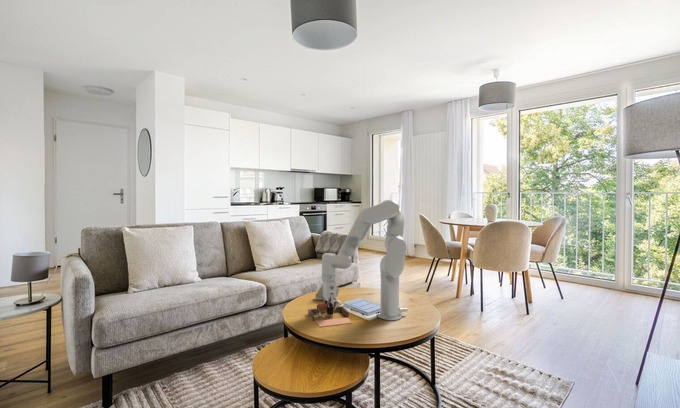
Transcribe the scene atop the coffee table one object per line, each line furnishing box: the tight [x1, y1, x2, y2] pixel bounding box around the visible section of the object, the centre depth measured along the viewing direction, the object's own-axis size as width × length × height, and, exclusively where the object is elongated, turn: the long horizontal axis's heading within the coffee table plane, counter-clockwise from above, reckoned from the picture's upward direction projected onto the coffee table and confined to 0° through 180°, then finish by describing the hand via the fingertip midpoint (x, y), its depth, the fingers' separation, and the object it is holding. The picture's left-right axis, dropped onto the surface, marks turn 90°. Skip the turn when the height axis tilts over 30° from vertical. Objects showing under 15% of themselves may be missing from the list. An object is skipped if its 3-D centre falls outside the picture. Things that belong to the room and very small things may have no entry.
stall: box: [307, 305, 350, 322], centre depth 166 cm, size 19×10×2 cm, turn 108°
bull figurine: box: [316, 299, 343, 319], centre depth 165 cm, size 4×13×8 cm, turn 112°
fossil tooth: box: [315, 285, 340, 301], centre depth 192 cm, size 12×6×15 cm
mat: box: [316, 317, 353, 328], centre depth 156 cm, size 16×7×1 cm, turn 108°
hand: (328, 312), depth 165 cm, fingers closed on bull figurine, 4 cm apart
